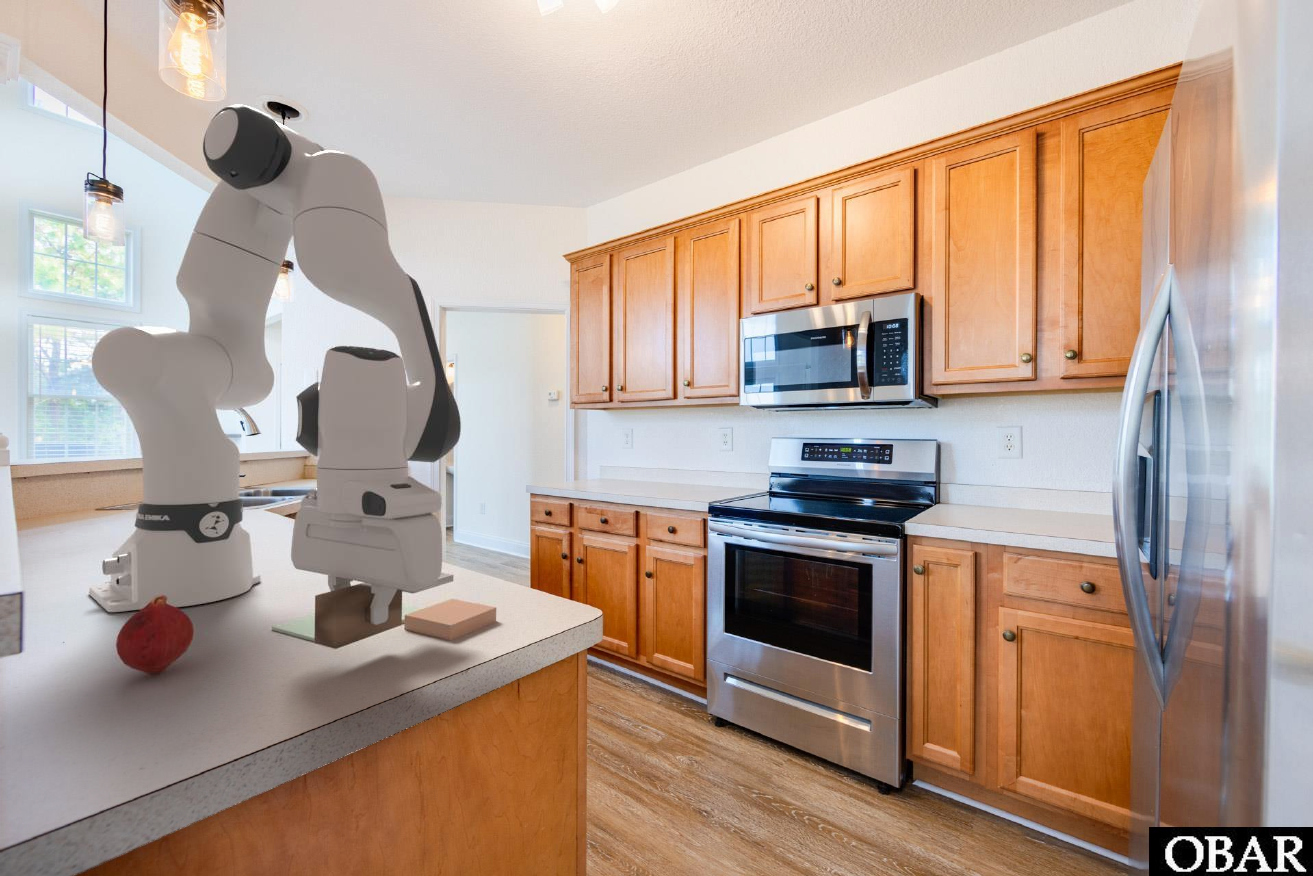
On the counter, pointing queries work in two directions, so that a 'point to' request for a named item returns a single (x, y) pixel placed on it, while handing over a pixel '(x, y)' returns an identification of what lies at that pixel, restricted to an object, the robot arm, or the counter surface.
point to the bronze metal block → (356, 614)
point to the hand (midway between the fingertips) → (361, 618)
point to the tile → (450, 619)
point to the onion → (154, 637)
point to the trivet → (307, 625)
